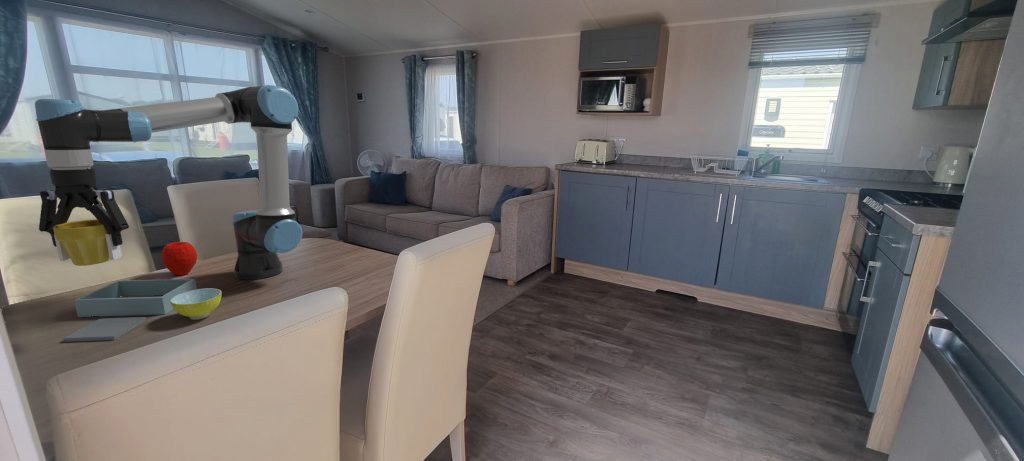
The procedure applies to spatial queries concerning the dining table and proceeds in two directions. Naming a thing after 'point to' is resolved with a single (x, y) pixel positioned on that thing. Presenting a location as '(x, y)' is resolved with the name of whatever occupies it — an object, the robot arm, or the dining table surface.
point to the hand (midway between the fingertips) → (91, 258)
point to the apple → (179, 257)
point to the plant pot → (83, 241)
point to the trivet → (105, 329)
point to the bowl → (197, 302)
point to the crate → (111, 305)
